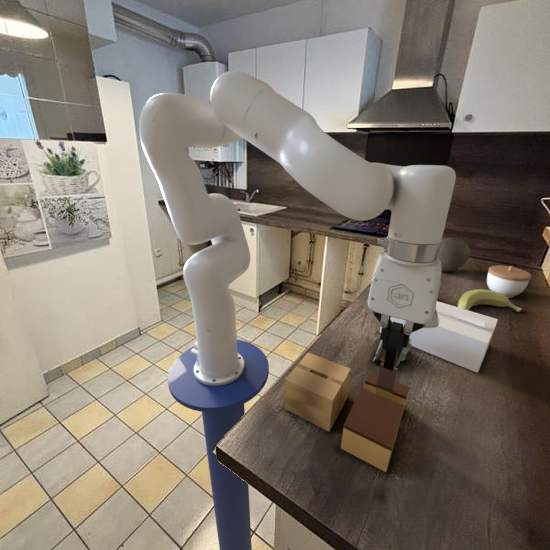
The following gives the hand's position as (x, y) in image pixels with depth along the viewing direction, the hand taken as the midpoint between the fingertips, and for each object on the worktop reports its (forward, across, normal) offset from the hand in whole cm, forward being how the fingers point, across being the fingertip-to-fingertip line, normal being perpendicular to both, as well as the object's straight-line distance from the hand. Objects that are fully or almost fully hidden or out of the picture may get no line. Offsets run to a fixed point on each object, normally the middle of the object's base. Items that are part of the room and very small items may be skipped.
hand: (393, 345), depth 53 cm
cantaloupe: (+9, +5, +96) cm, 96 cm away
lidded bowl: (+17, +25, +82) cm, 87 cm away
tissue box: (+17, +6, +35) cm, 39 cm away
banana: (+17, +20, +64) cm, 69 cm away
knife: (+13, 0, 0) cm, 13 cm away
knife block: (+17, -12, -4) cm, 21 cm away
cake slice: (+17, 0, +3) cm, 17 cm away
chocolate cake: (+17, -2, +21) cm, 27 cm away
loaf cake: (+17, 0, -6) cm, 18 cm away
